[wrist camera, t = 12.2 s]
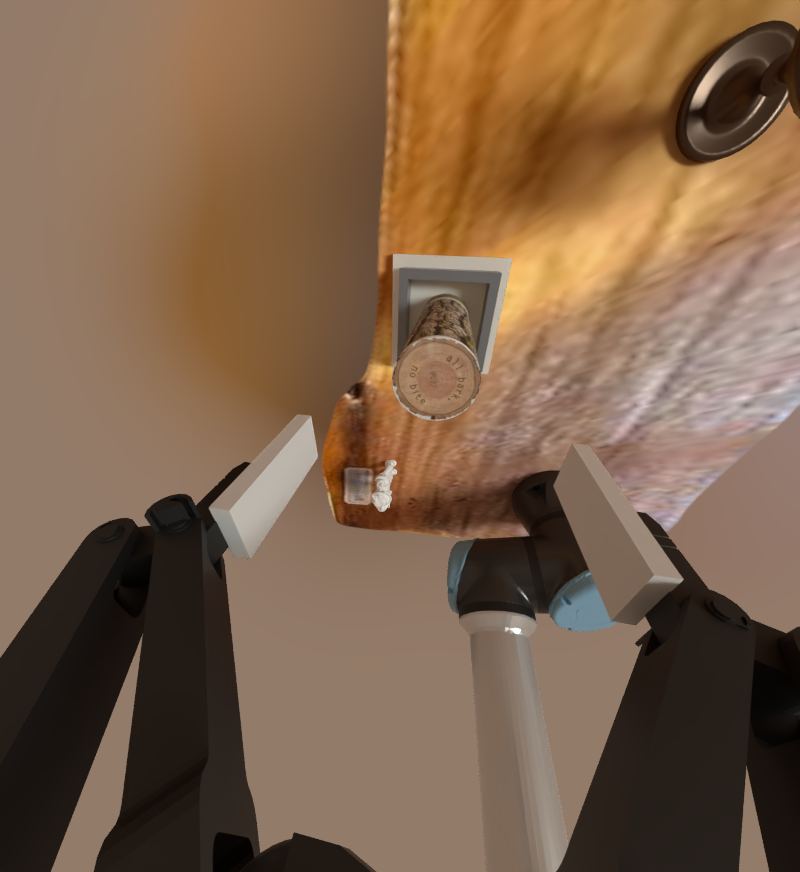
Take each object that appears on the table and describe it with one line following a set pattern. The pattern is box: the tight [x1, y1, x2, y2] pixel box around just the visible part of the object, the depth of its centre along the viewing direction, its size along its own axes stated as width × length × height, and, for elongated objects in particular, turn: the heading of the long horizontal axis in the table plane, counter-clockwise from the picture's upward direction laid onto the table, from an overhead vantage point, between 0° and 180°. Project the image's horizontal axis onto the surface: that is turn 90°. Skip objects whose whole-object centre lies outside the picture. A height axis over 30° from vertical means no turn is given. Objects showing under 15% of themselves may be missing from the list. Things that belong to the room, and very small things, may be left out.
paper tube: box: [392, 294, 481, 420], centre depth 32 cm, size 7×7×25 cm
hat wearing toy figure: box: [371, 460, 397, 512], centre depth 56 cm, size 9×4×12 cm, turn 178°
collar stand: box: [391, 254, 512, 374], centre depth 41 cm, size 16×16×4 cm
